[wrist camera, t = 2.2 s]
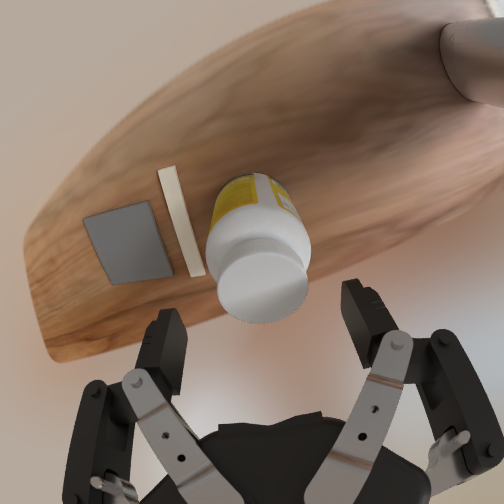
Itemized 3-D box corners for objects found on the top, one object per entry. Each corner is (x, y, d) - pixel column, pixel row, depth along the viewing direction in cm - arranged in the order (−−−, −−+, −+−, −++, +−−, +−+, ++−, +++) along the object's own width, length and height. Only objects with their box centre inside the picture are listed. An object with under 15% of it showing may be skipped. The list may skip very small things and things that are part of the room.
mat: (148, 200, 23) (146, 202, 22) (174, 273, 27) (173, 276, 26) (85, 217, 23) (82, 219, 23) (113, 282, 27) (112, 285, 27)
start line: (175, 165, 21) (174, 166, 21) (205, 272, 27) (205, 275, 27) (158, 169, 21) (157, 170, 21) (191, 274, 27) (191, 277, 27)
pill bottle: (203, 219, 24) (178, 309, 14) (239, 156, 21) (237, 209, 11) (264, 250, 26) (278, 347, 16) (304, 194, 23) (350, 271, 13)
